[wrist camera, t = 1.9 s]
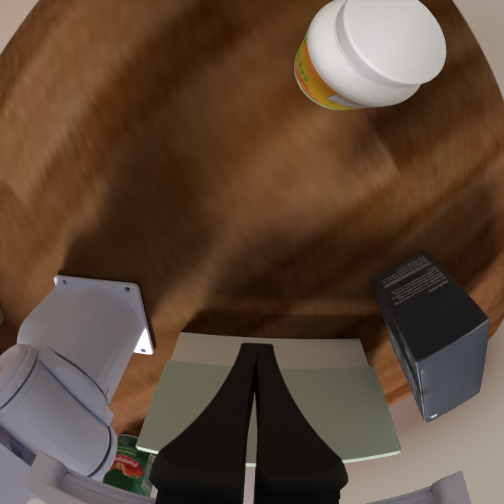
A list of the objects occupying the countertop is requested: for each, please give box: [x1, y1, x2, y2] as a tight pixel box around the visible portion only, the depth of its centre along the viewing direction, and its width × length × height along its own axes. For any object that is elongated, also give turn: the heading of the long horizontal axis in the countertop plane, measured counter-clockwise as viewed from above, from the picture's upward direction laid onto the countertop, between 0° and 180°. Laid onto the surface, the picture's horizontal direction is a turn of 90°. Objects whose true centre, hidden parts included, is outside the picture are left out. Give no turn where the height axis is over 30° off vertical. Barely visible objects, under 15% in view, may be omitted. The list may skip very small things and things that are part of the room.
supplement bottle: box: [294, 0, 446, 110], centre depth 10 cm, size 5×5×10 cm
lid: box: [136, 360, 401, 466], centre depth 16 cm, size 16×8×1 cm
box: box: [371, 251, 489, 423], centre depth 18 cm, size 9×6×10 cm, turn 30°
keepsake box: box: [171, 332, 369, 369], centre depth 24 cm, size 16×8×4 cm, turn 88°
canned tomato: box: [102, 434, 157, 497], centre depth 32 cm, size 8×8×11 cm
